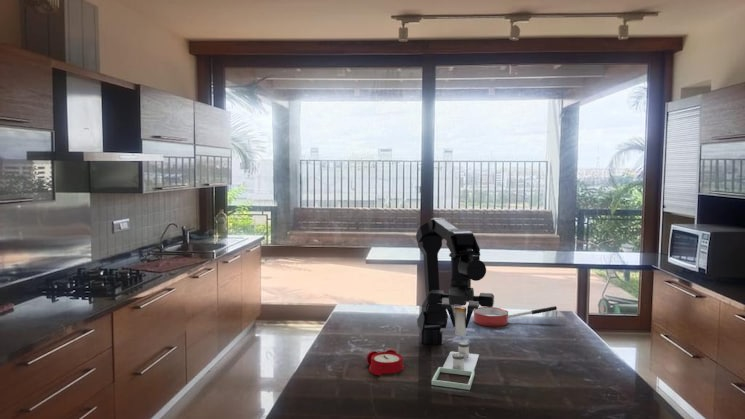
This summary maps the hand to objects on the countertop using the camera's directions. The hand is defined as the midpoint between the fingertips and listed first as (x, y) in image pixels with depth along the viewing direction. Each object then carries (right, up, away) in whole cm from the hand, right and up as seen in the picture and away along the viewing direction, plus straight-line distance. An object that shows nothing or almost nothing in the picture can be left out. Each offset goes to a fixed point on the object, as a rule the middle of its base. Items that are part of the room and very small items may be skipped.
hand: (460, 327), depth 151 cm
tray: (-3, -14, -9) cm, 16 cm away
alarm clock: (-22, -13, +3) cm, 26 cm away
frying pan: (+30, -10, +51) cm, 60 cm away
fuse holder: (+1, -13, +5) cm, 13 cm away
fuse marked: (0, -2, 0) cm, 2 cm away
